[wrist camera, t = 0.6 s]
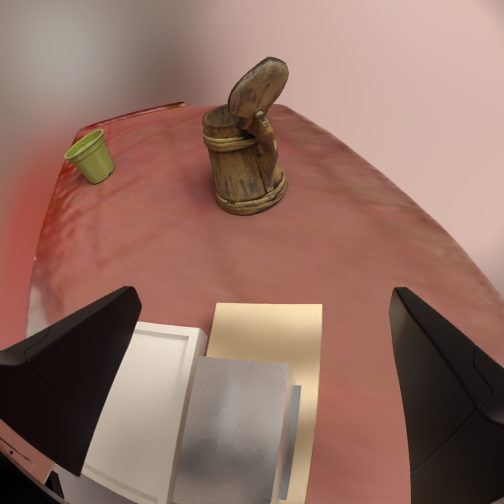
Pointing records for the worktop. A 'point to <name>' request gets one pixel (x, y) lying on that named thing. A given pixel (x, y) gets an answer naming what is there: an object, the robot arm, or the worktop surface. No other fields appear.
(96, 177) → the plant pot
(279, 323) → the light wood plank
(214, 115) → the wooden mug
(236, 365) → the light grey block
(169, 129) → the worktop surface
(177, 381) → the parts tray
